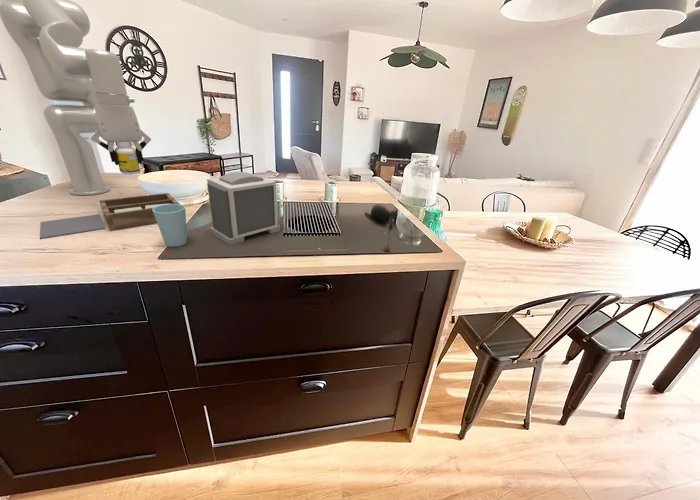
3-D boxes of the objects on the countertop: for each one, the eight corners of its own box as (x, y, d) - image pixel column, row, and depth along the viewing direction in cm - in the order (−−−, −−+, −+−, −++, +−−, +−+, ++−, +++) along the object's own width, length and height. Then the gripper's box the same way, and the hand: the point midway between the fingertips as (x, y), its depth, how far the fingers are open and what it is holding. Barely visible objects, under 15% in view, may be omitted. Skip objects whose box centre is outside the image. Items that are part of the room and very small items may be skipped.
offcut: (117, 223, 93) (113, 210, 91) (143, 219, 97) (140, 206, 95) (119, 227, 90) (115, 213, 88) (146, 223, 94) (143, 210, 92)
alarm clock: (259, 219, 105) (256, 167, 97) (282, 230, 97) (280, 175, 89) (208, 231, 92) (199, 173, 84) (230, 245, 85) (222, 182, 76)
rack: (103, 215, 98) (99, 200, 95) (170, 205, 110) (168, 193, 108) (110, 231, 87) (105, 215, 85) (183, 219, 100) (181, 204, 97)
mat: (41, 223, 88) (40, 221, 88) (99, 215, 97) (99, 214, 97) (40, 239, 79) (39, 237, 79) (105, 228, 88) (104, 227, 88)
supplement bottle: (116, 172, 93) (107, 140, 89) (132, 170, 98) (125, 139, 93) (128, 175, 92) (120, 142, 87) (144, 172, 96) (137, 141, 92)
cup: (173, 235, 87) (166, 202, 83) (197, 239, 86) (191, 205, 82) (154, 246, 81) (145, 210, 76) (179, 250, 80) (171, 214, 75)
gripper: (144, 102, 93) (156, 160, 101) (73, 97, 82) (92, 162, 91) (150, 103, 88) (162, 164, 97) (75, 98, 78) (95, 167, 86)
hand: (128, 163), depth 93 cm, fingers closed on supplement bottle, 5 cm apart
